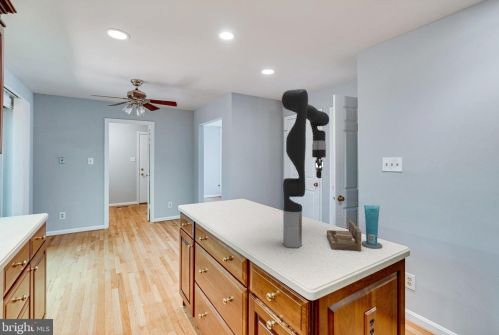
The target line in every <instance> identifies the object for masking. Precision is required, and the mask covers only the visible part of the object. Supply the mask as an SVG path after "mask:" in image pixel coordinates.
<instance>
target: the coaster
mask: <svg viewBox="0 0 499 335" xmlns="http://www.w3.org/2000/svg"><path fill="white" fill-rule="evenodd" d="M361 246H362V247H365V248H367V249H373V250H378V249H382V248H383V245H382V244H381V243H380V242H378V241H377V245H369V244H367V243H366V240H364V241H361Z"/></svg>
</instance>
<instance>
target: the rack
mask: <svg viewBox="0 0 499 335" xmlns="http://www.w3.org/2000/svg"><path fill="white" fill-rule="evenodd" d="M336 231H337V230H332V229H331V230H330V229H329V230H327V229H326V236H327V239H328V242H329V245H330V248H331V250H334V251H335V250H336V251H337V250H338V251H351V252H353V251H354V252H362V231H361V230H360V229H359V227H358V225H356V224H355V222H353V220H350V219H349V220H348V230H338V231H339V232H350V233H351V235H352V237H353V238H354V240H355V243H339V242H335V241H334V235H336Z"/></svg>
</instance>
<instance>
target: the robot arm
mask: <svg viewBox="0 0 499 335" xmlns="http://www.w3.org/2000/svg"><path fill="white" fill-rule="evenodd" d="M281 103H282V106H283V108H284V109H285V110H286V111H290V112H293V113H294V114H296V117H295V122H294V123H293V125H292V127H291V129H290V130H289V131H288V134H287V136H286V140H285V143H286V144H285V152H286V154H287V157H288V158H289V160H290V161H291V163H292V164H293V166H294V168H295V170H296V172H297V174H298V178H296V177H287V178H286V177H285V178H284V179H283V183H282V192H283V193H282V194H283V196H282V198H283V206H282V208H283V212H282V213H283V215H282V216H283V217H282V218H283V219H282V221H283V222H282V224H283V225H282V226H283V228H282V229H283V230H282V236H283V237H282V240H283V241H282V244H283V246H285V248H294V249H296V248H297V249H300V247H302V246H303V205H302V204H300V203H299V202H296V201H294V200H292V199H291V197H292V198H302V197H304V196H305V194H306V166H305V165H306V164H305V163H306V149H307V148H306V147H307V146H306V145H307V139H306V138H307V137H306V133H307V120H308V121H309V124H310V128H311V132H312V145H311V148H312V149H311V152H312V153H311V158H314V159H315V158H316V159H315V161H314V166H315V171H316V172H315V177H316V178H317V179H322V171H323V166H324V165H323V164H324V163H323V162H324V161H323V159H322V158H326V157H327V142H326V131H325V130H322V129H319V127H326V126H327V125H328V124H329V122H330V116H329V115H328V114H327V112H324V111H322V110H318V108H316V107H315V106H313V105H311V104H309V95H308V91H307V90H306V88H299V89H289V90H288V89H287V90H286V91H284V92H283V93H282V96H281Z"/></svg>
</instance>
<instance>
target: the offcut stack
mask: <svg viewBox="0 0 499 335" xmlns="http://www.w3.org/2000/svg"><path fill="white" fill-rule="evenodd" d="M335 231H336V235H334V241H335V242H339V243H355V240H354V238H353V237H352V235H351V233H350V232H339V231H340V230H335Z"/></svg>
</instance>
